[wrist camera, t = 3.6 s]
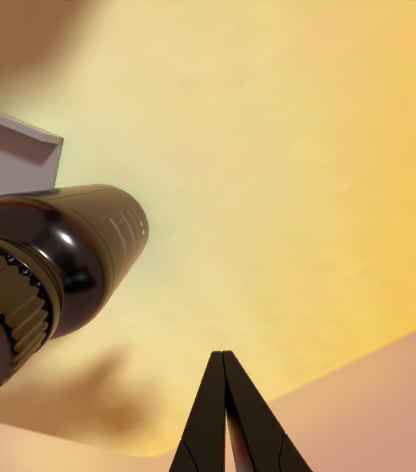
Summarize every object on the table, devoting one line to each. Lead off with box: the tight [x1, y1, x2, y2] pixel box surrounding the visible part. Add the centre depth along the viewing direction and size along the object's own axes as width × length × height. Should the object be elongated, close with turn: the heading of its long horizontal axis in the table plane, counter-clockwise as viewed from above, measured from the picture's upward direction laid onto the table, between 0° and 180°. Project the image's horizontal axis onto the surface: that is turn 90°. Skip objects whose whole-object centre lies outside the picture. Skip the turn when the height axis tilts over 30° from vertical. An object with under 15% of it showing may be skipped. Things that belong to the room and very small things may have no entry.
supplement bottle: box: [0, 184, 149, 387], centre depth 11 cm, size 7×7×12 cm
